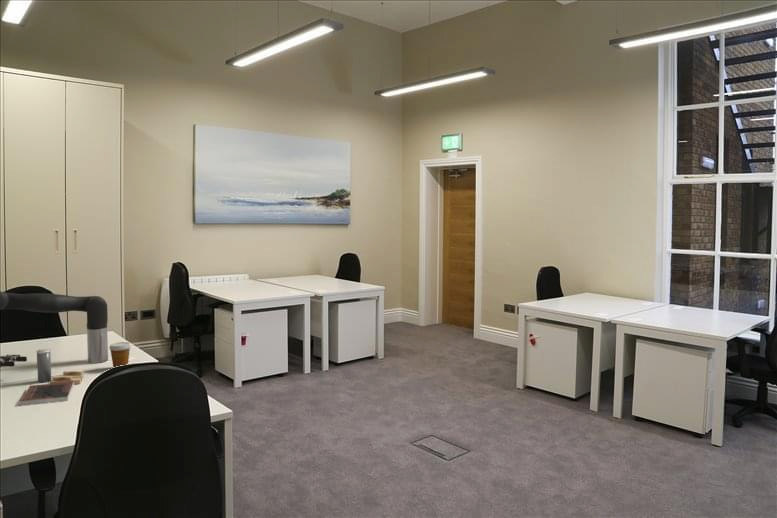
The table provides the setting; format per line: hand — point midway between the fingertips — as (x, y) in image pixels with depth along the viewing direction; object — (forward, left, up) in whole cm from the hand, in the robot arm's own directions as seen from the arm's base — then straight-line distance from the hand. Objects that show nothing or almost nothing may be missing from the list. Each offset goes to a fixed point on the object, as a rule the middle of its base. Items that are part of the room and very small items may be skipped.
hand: (20, 361), depth 248 cm
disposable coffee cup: (-9, +40, -9) cm, 42 cm away
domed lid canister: (+3, +10, -9) cm, 14 cm away
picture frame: (+25, +15, -10) cm, 31 cm away
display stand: (+8, +20, -9) cm, 23 cm away
